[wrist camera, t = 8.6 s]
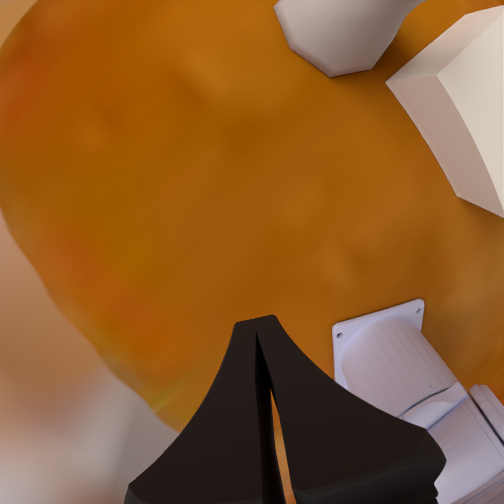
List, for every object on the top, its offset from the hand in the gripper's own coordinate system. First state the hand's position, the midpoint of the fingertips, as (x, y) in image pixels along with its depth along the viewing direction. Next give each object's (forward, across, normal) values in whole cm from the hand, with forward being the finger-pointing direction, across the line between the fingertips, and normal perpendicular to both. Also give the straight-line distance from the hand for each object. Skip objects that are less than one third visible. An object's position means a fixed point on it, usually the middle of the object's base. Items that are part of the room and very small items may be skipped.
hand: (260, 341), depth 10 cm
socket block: (+10, -18, -7) cm, 22 cm away
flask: (+10, -8, -12) cm, 18 cm away
